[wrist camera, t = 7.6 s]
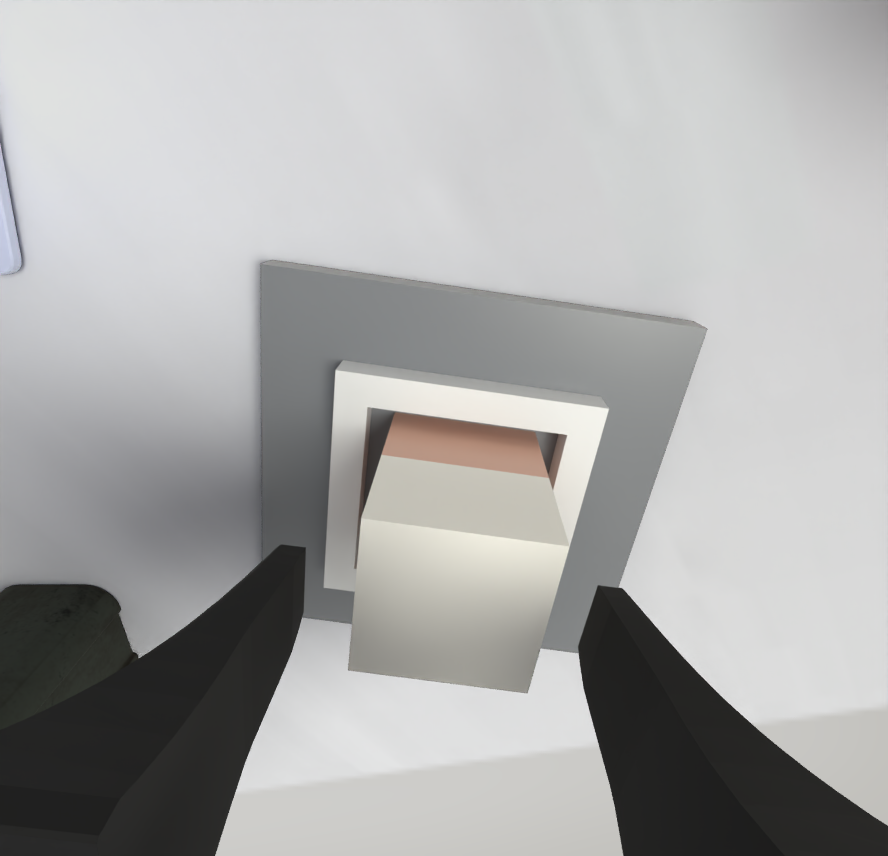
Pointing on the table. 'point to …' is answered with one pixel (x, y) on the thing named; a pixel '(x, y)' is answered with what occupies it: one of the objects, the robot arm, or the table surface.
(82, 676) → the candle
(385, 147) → the table surface
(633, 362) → the baseplate
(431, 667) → the brick stack
